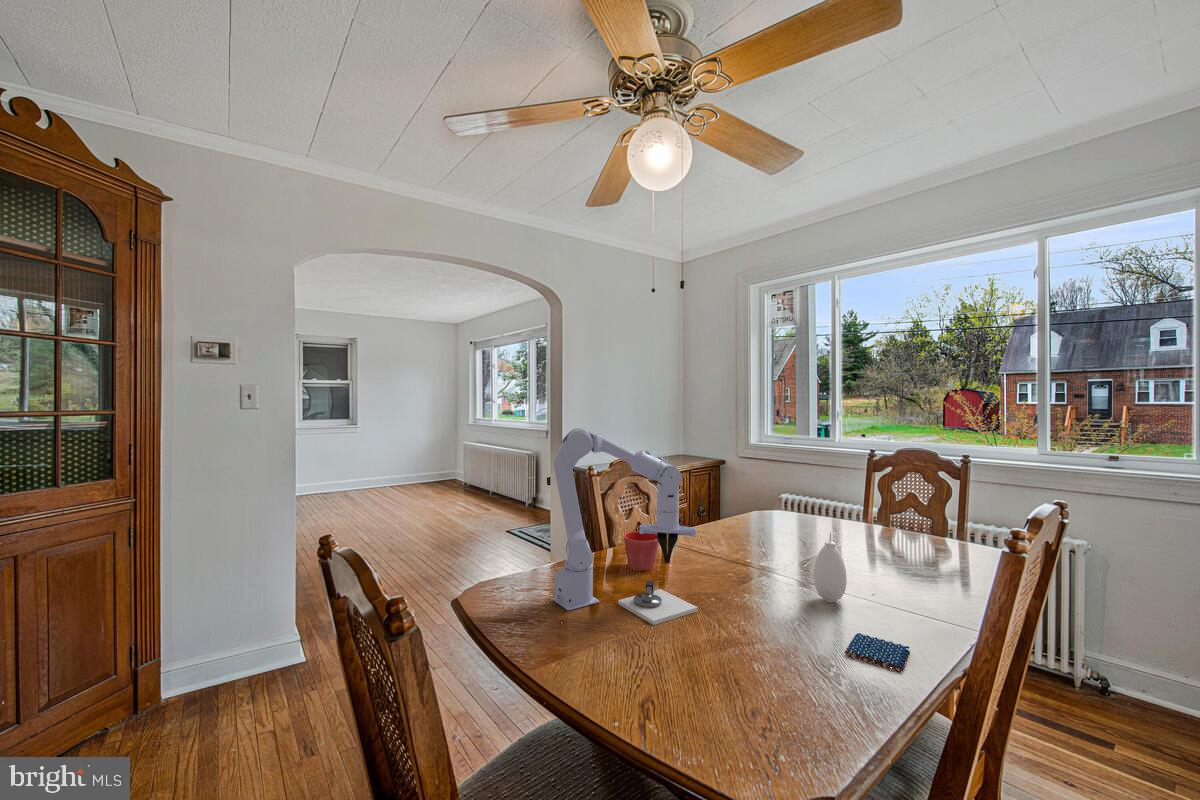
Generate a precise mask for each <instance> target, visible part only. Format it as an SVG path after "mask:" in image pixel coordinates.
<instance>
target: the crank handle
mask: <svg viewBox="0 0 1200 800" xmlns="http://www.w3.org/2000/svg"><path fill="white" fill-rule="evenodd" d="M654 591H655V580H646V583H645V592H643V593H639V594H636V595H634V596H635V597H634V603H635V604H636V605H639V606H642V607H656V606H659V605H660V604H661V603H662V599H661V598H660V597H659V596H657V595H654V594H653V593H654Z"/></svg>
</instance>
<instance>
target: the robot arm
mask: <svg viewBox="0 0 1200 800" xmlns="http://www.w3.org/2000/svg"><path fill="white" fill-rule="evenodd" d="M590 452H592V453H594V454H595V453H601V452H602V453H605V454H608V455H610V456H612V457H615V458H617V459H618V460H621V461H623V462H626V463H628V464H630V468H631V471H633V472H635V473H637V474H639V475H641V476H643V477H646V478H647V479H649V480H651V481H656V482H657V492H656V524H655V523H654V524H640V525H639V531H640V534H644V533H650V534H657V540H658V545H659V546H660V549H661V551H662V555H663V561H664V564H670V563H671V557H672V553H673V551H674V548H675V546H676V543H677V541H678V539H679V538H678V537H679V536H687V537H688V536H689V537H692V538H693V537H694V538H695V537H697V534H696V533H697V529H696V528H697V527H691V526H685V525H684V526H683V525H679V524H680V523H679V522H680V521H679V518H680V513H679V511H680V492H679V491H680V489H679V488H680V485H681V484H682V483H683V476H682V473H681V471H680V469H678V467H676V466H674V465H672V464H671V463H669V462H668V461H667V460H665V459H663V458H662V459H660V458H658V457H656V456H654V455H653V454H652V452H651V451H648V450H645V451H644V450H638V451H636V452H634V451H632V450H630V449H629V448H626V447H625V446H622V445H621V444H618V443H616V442H614V441H613V440H611V439H609V438H607V437H605V436H603V435H600V434H598V433H594V432H590V431H586V430H584V429H583V428H573V429H571V430H570V431H568V433H567V434H566V435H565V436H564V437H563V438H562V441H561V443H560V446H559V449H558V450H557V453H556V456H555V457H554V460H553V469H554V474H555V479H556V484H557V489H558V490H557V491H558V495H559V500H560V507H561V511H562V516H563V521H564V527H565V532H566V537H567V539H566V540H567V542H566V545H565V552H566V554H567V560H566V562H565V563H564V567H563V568H561V569H559V570H557V571H556V572H555V574H554V582H553V583H554V585H553V586H554V587H553V588H554V589H553V591H554V596H553V598H552V600H553V602H555V603H557V604H558V605H559V606H561V607H562V608H564V609H565V610H566V611H573V610H575V609H576V610H577V609H580V608H582V607H587V606H591V605H595V604H598V603H600V600H599V599H597V598H596V597H594V596H593V594H594V589H593V588H594V586H593V585H594V584H593V583H594V580H593V579H594V564H593V561H594V555H593V551H592V550H591V547H590V542H589V541H588V539H587V537H586V535H585V529H584V524H583V519H582V514H581V509H580V503H579V498H578V492H577V487H576V482H575V481H576V480H575V476H574V472H573V469H574V467H575V466H576V465H577V463H578V462H579V461H580V459H582V458H584V457H585V456H586V455H588V454H590Z"/></svg>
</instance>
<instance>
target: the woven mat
mask: <svg viewBox="0 0 1200 800" xmlns="http://www.w3.org/2000/svg"><path fill="white" fill-rule="evenodd" d="M910 648H911V647H910V646H909V645H903V644H901V643H894V642H893V641H892V640H891V641H889V640H885V639H883V638H882V639H881V638H878V637H873V636H870V635H869V634H863V633H861V632H858V633H855V635H854V636H853V638H852V639H851V641H850V643H849V644H848V647H846V650H844V653H845V654H846V656H845V657H847V658H849V657H851V658H852V659H854V658H855V659H857V661H859V660H861V659H862V660H863V662H864V661H865V662H864V663H868V662H869V663H870V662H871V663H874V664H876V666H878V665H880V666H881V665H883V666H882V668H884V667H885V668H884V669H887V668H890V667H892V669H895V670H897V671H900V672H901V671H904V669H905V665H906V663H907V660H908V656H910V655H909V654H911V651H910V650H909V649H910ZM858 658H859V659H858ZM862 660H861V661H862ZM867 661H868V662H867ZM905 662H906V663H905ZM871 663H870V664H871ZM890 669H891V668H890ZM900 669H901V670H900ZM897 671H896V672H897Z"/></svg>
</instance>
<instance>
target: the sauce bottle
mask: <svg viewBox="0 0 1200 800" xmlns="http://www.w3.org/2000/svg"><path fill="white" fill-rule="evenodd" d="M828 539H829V540H828V541H825V542H824V545H823V546H822V547H821V549H820V550H819V552H818V554H817V556H816V558H815V560H814V561H815V562H814V566H813V577H812V578H813V584H814V587H815V590H816V592H817V594H818V596H819V597H820V598H821V599H822V600H823V601H825V602H827V603H829V604H830V603H831V604H833V603H836V602H838V600H841V598H842V597H843V596H844V594H845V591H846V588H847V582H848V581H847V580H848V579H847V577H848V576H847V568H846V565H845V562H844V558H843V556H842V554H841V552H840V551H839V548H838V547H837V546H836V545H837V543H836V542H834V541H832V532H829V538H828Z"/></svg>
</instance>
